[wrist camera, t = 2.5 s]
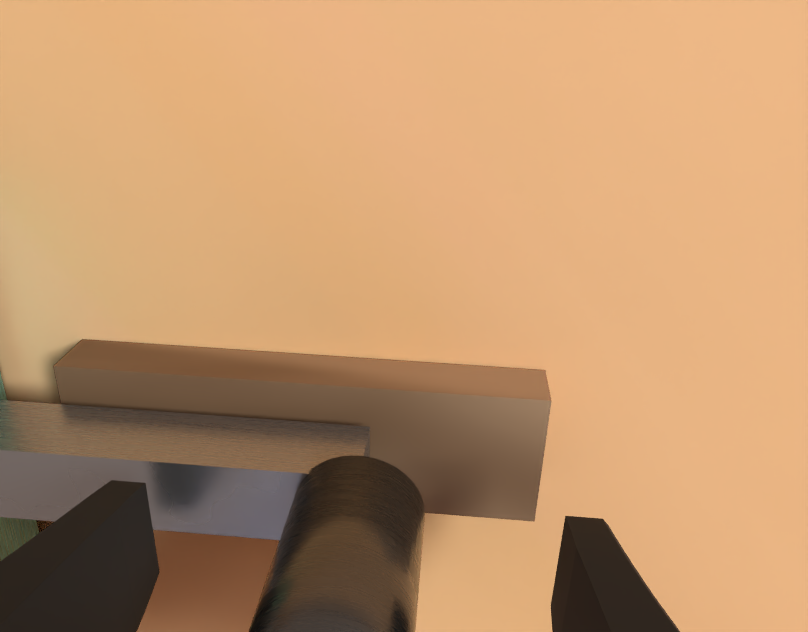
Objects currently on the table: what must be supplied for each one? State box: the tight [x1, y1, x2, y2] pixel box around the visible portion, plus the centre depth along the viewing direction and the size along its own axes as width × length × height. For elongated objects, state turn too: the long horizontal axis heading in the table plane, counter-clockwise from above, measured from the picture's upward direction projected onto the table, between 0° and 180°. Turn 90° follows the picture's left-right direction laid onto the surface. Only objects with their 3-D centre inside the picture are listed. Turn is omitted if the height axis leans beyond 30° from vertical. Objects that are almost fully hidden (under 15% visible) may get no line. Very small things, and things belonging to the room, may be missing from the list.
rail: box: [53, 339, 551, 521], centre depth 15 cm, size 3×10×1 cm, turn 87°
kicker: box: [0, 373, 425, 632], centre depth 12 cm, size 11×11×8 cm
